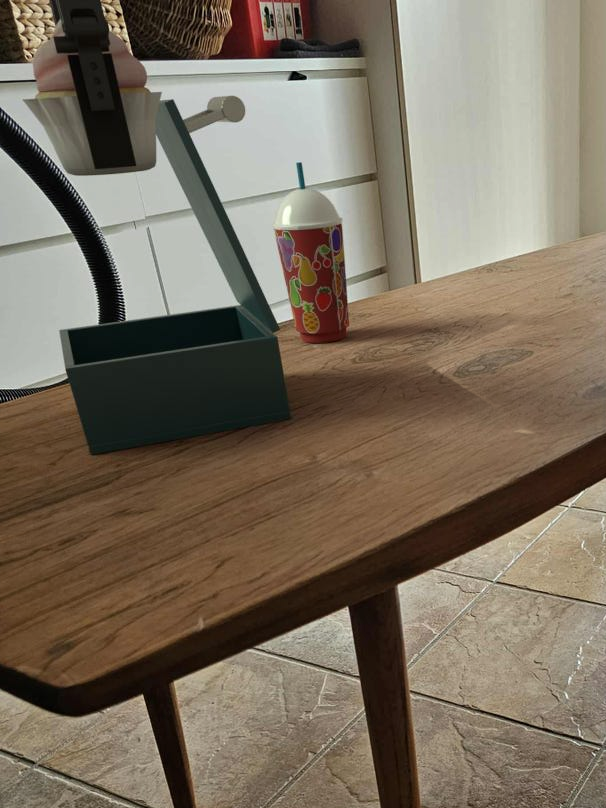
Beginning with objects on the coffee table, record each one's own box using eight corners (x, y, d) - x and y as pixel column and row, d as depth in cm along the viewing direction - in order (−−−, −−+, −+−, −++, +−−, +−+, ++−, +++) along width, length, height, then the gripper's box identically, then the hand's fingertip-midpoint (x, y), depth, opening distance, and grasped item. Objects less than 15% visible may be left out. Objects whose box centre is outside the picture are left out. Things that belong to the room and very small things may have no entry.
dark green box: (90, 455, 81) (65, 368, 77) (81, 405, 95) (58, 329, 91) (291, 418, 87) (277, 336, 83) (254, 376, 101) (241, 304, 97)
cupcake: (110, 178, 60) (66, -5, 55) (16, 178, 64) (-33, 8, 59) (205, 164, 67) (175, 1, 62) (116, 166, 71) (80, 13, 66)
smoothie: (369, 333, 116) (349, 158, 106) (328, 348, 110) (301, 165, 100) (320, 328, 120) (296, 159, 110) (278, 343, 114) (247, 166, 104)
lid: (164, 102, 71) (241, 70, 72) (141, 104, 85) (206, 77, 86) (272, 333, 83) (337, 302, 84) (237, 301, 97) (293, 275, 98)
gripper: (84, -325, 46) (182, 167, 58) (71, -206, 63) (149, 153, 75) (-78, -338, 44) (59, 177, 56) (-45, -211, 61) (54, 161, 73)
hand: (111, 163), depth 65 cm, fingers closed on cupcake, 9 cm apart
